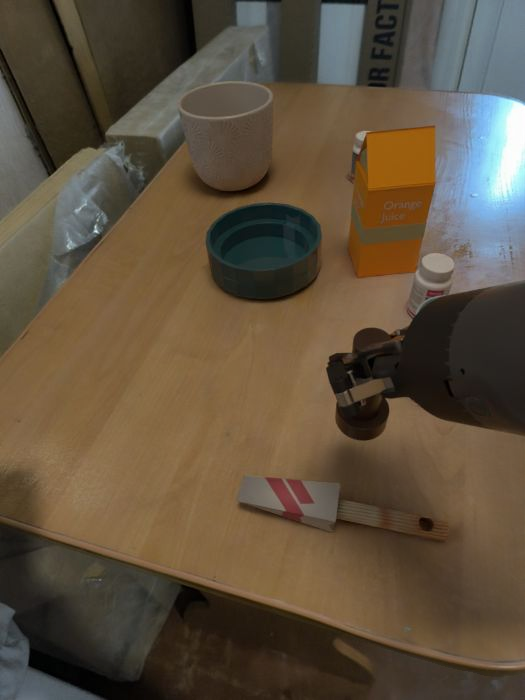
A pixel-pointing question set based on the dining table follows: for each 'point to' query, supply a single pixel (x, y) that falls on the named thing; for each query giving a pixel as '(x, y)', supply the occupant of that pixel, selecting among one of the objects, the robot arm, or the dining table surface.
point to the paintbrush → (329, 506)
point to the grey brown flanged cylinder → (376, 407)
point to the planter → (228, 132)
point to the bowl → (264, 250)
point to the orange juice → (391, 200)
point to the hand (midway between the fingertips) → (353, 357)
